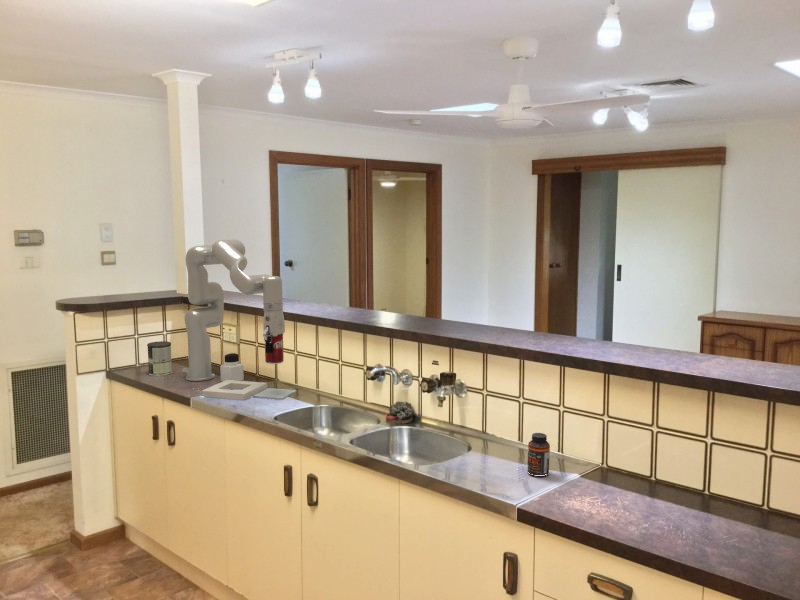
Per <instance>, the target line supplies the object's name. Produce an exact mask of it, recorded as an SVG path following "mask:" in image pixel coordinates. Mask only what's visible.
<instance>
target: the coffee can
mask: <svg viewBox="0 0 800 600" xmlns="http://www.w3.org/2000/svg"><path fill="white" fill-rule="evenodd" d="M146 346H147V359H148V360H147V362H148V375H149V376H152V377H160V376H161V377H162V376H167V375H172V373H173V369H172V368H173V366H172V361H173V360H172V342H171V341H166V340H165V341H163V340H162V341H152V342H149V343H147V344H146Z"/></svg>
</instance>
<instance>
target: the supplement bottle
mask: <svg viewBox="0 0 800 600" xmlns="http://www.w3.org/2000/svg"><path fill="white" fill-rule="evenodd" d="M547 437H548V436H547V434H545V433H542V432H534V433H532V435H531V440H530V441H529V442H528V445H527V468H526V469H527V473H528V472H529V473H530V474H533V475H545V474H548V473H550V451H551V449H550V448H551V446H550V443H549V442H548V441H547ZM530 474H529V475H530ZM548 475H549V474H548Z"/></svg>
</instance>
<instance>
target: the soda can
mask: <svg viewBox="0 0 800 600" xmlns="http://www.w3.org/2000/svg"><path fill="white" fill-rule="evenodd" d="M268 335H271V334H268ZM269 338H271V337H269ZM272 343H273V353H266V349H265V348H264V358H265V359H264V360H265V363H266V364H267V365H279V364H282V363H283V362H284V357H285V356H284V333H283V334H282V333H281V334H278V335H277V336H275V337H274V336H273V341H272Z"/></svg>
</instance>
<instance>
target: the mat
mask: <svg viewBox="0 0 800 600" xmlns="http://www.w3.org/2000/svg"><path fill="white" fill-rule="evenodd" d="M297 392H298V390H296V389H286V388H285V389H284V388H275V387H273V388H272V387H271V388H270V387H267V389H265V390H263V391H261V392H259V393H257V394H255V395H254V396H252V398H257V399H258V398H259V399H271V400H281V401H282V400H284V399H286V398H288V397H290V396H292V395H294V394H295V393H297Z"/></svg>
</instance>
